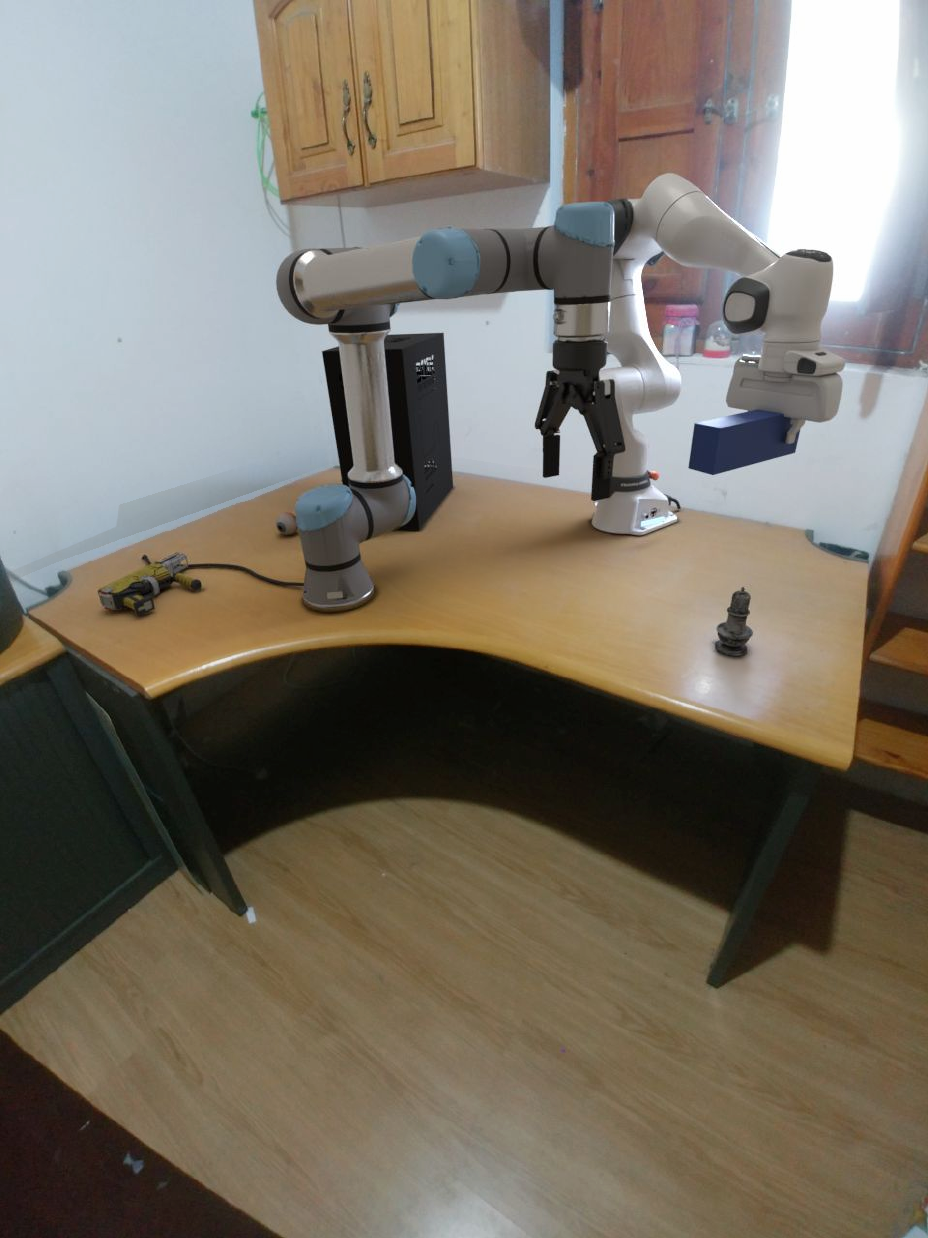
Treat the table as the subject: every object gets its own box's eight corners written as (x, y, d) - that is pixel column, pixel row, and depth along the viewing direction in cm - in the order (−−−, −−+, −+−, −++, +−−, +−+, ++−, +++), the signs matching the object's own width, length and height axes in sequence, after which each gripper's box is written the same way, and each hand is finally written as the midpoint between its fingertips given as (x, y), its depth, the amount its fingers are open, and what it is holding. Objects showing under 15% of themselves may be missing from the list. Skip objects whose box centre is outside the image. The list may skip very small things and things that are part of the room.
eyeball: (273, 537, 164) (268, 516, 161) (287, 528, 169) (282, 508, 166) (291, 539, 161) (286, 518, 158) (305, 530, 166) (301, 510, 163)
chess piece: (752, 657, 103) (766, 595, 97) (715, 655, 104) (727, 594, 98) (745, 639, 108) (758, 579, 102) (711, 637, 109) (721, 578, 103)
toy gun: (225, 560, 144) (174, 549, 148) (148, 603, 124) (91, 589, 127) (228, 578, 146) (177, 567, 150) (152, 623, 126) (96, 609, 130)
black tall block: (419, 530, 162) (402, 348, 140) (349, 527, 167) (321, 351, 144) (453, 486, 194) (443, 332, 171) (393, 485, 198) (376, 334, 176)
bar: (769, 447, 116) (778, 404, 113) (795, 452, 112) (805, 408, 108) (688, 468, 107) (694, 422, 103) (712, 475, 103) (720, 428, 99)
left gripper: (513, 334, 92) (514, 471, 103) (613, 347, 72) (602, 515, 83) (554, 330, 95) (552, 464, 105) (663, 341, 75) (645, 505, 85)
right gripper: (725, 355, 111) (713, 432, 118) (832, 365, 95) (811, 453, 102) (748, 352, 114) (735, 427, 121) (855, 361, 98) (834, 446, 105)
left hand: (574, 487), depth 94 cm, fingers open, 13 cm apart
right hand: (771, 439), depth 111 cm, fingers closed on bar, 5 cm apart
